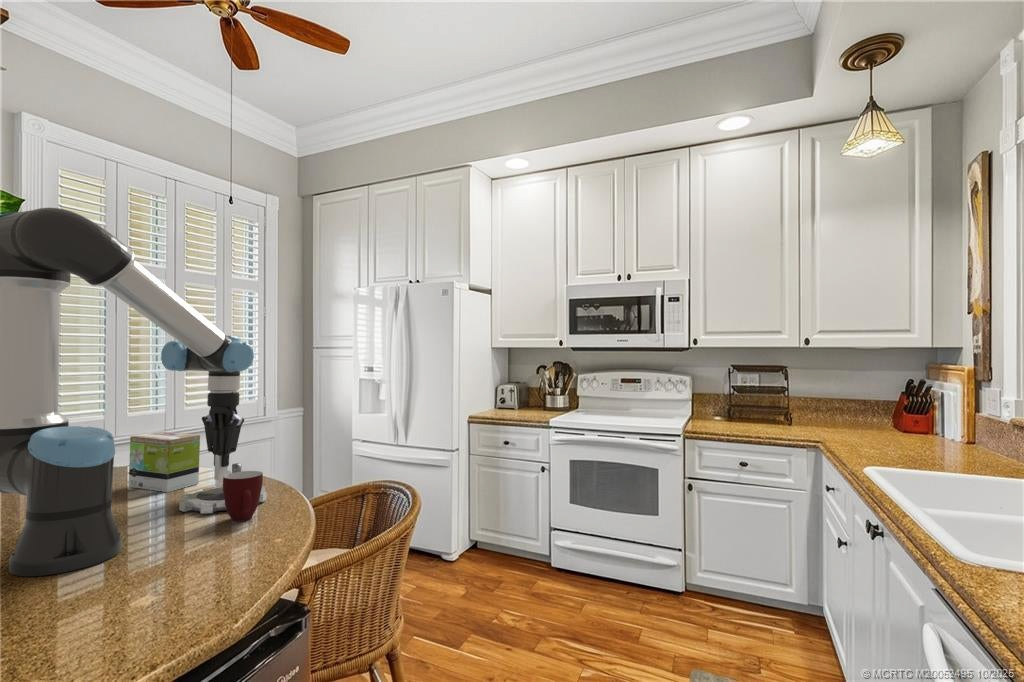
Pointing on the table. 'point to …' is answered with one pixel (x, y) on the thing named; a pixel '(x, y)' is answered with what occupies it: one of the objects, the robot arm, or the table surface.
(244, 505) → the mug
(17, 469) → the robot arm
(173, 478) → the tea box
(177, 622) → the table surface
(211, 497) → the sprocket
